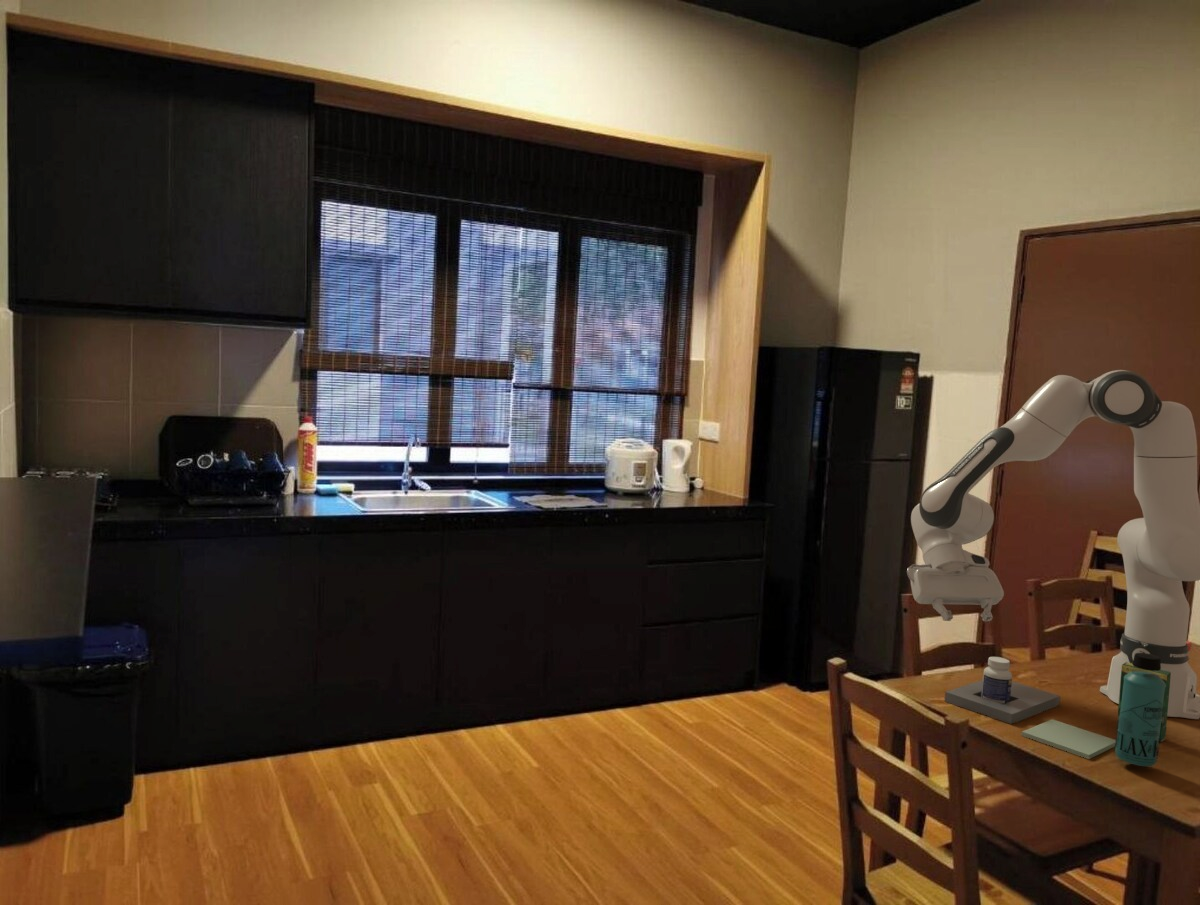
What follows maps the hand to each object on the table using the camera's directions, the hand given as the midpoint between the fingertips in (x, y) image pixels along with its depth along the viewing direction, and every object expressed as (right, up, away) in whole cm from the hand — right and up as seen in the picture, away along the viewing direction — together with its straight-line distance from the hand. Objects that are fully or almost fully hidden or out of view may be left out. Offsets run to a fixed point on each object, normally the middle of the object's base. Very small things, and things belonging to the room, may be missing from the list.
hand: (968, 619), depth 192 cm
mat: (+8, -17, -26) cm, 33 cm away
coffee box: (+24, -18, -21) cm, 37 cm away
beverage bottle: (+14, -19, -37) cm, 44 cm away
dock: (+4, -16, -8) cm, 18 cm away
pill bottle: (+1, -16, -10) cm, 19 cm away
